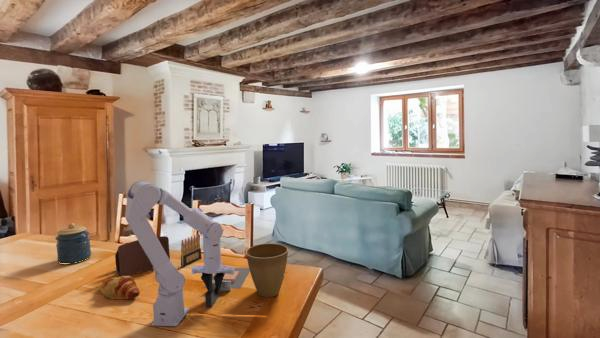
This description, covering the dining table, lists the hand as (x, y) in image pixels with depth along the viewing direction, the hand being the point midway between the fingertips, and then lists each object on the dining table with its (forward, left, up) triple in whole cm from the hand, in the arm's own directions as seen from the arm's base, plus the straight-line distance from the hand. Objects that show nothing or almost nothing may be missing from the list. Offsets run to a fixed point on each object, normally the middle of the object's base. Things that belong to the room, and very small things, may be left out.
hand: (214, 293), depth 110 cm
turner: (0, 0, -2) cm, 2 cm away
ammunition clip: (+31, +22, -3) cm, 39 cm away
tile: (+12, 0, -1) cm, 12 cm away
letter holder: (+25, +41, -3) cm, 48 cm away
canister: (+32, +79, -3) cm, 85 cm away
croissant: (+3, +36, -3) cm, 37 cm away
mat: (+16, 0, -2) cm, 17 cm away
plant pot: (+6, -18, -3) cm, 19 cm away
